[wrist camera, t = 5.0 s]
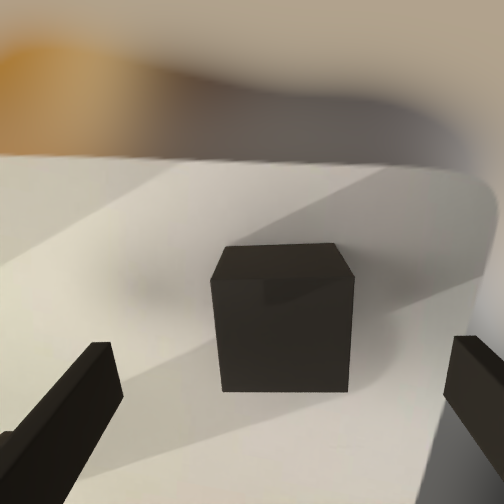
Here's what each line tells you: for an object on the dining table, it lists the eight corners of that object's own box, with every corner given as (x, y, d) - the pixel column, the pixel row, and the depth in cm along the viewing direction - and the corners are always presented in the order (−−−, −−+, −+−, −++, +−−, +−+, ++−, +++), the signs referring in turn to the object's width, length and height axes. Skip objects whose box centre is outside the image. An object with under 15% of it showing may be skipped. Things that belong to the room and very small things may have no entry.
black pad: (334, 242, 17) (354, 276, 13) (330, 336, 19) (348, 393, 15) (225, 246, 17) (209, 279, 13) (233, 337, 19) (222, 392, 15)
